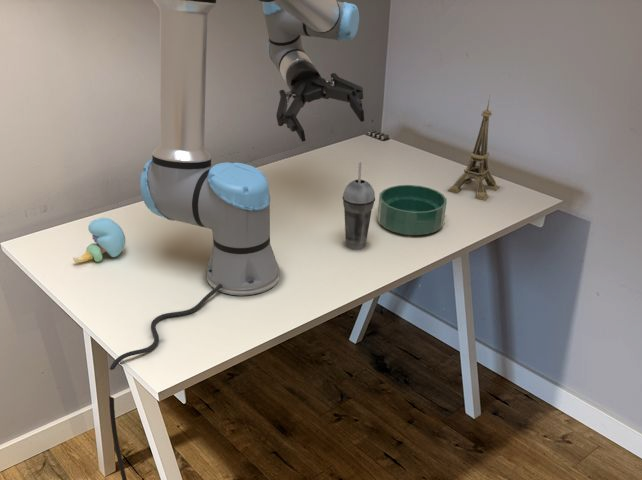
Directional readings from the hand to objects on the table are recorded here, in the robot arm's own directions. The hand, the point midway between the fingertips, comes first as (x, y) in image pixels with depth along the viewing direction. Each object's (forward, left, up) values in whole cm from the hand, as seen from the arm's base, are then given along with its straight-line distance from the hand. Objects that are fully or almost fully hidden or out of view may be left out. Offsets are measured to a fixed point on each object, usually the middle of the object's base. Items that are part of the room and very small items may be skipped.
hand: (332, 126), depth 145 cm
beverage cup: (-2, -8, -26) cm, 27 cm away
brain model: (-35, +39, -26) cm, 58 cm away
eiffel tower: (+43, -23, -26) cm, 55 cm away
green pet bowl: (+15, -15, -26) cm, 33 cm away
